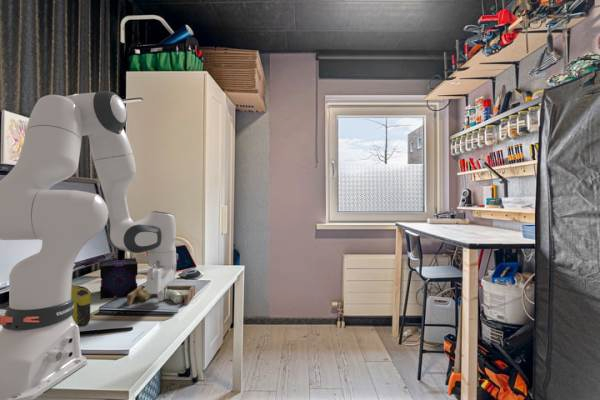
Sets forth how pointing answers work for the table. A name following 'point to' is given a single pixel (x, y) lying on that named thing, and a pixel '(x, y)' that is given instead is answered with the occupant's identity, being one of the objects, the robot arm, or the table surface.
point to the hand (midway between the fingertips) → (161, 299)
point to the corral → (188, 296)
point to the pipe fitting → (176, 295)
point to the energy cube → (118, 277)
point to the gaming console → (81, 305)
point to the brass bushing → (143, 295)
